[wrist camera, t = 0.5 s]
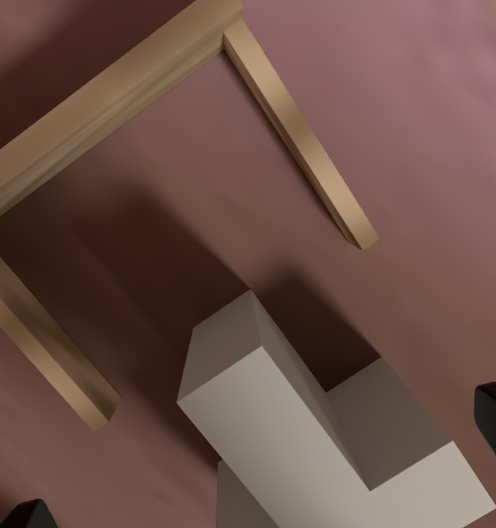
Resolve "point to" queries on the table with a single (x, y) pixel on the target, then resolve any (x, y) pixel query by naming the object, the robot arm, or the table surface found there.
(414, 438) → the t block
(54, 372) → the birch bay
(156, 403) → the table surface
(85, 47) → the table surface
